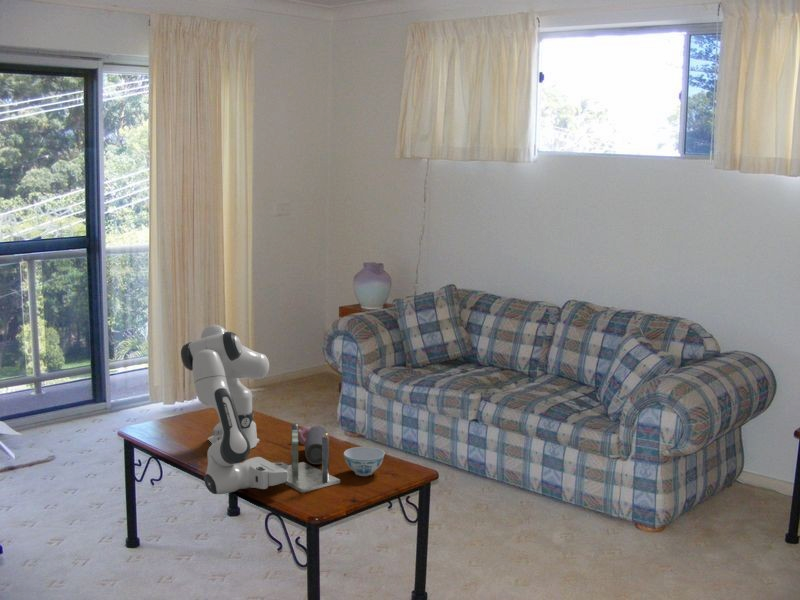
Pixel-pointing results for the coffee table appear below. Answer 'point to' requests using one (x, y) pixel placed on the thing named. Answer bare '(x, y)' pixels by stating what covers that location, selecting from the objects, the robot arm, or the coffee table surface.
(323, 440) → the gate frame
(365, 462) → the chinaware
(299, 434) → the video game controller
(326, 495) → the coffee table surface
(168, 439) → the coffee table surface
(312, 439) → the bluetooth speaker
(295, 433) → the gate
